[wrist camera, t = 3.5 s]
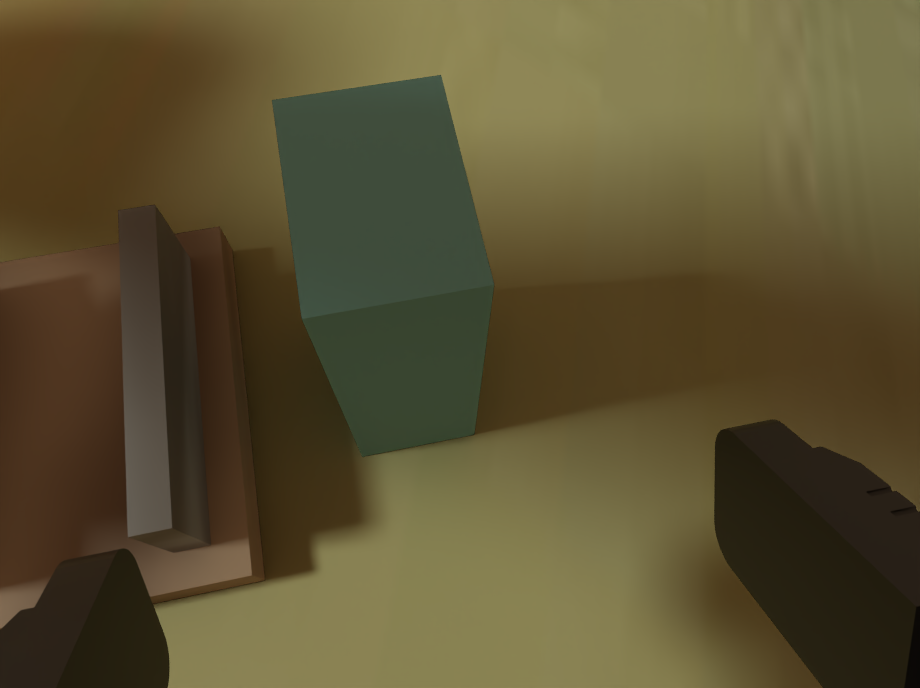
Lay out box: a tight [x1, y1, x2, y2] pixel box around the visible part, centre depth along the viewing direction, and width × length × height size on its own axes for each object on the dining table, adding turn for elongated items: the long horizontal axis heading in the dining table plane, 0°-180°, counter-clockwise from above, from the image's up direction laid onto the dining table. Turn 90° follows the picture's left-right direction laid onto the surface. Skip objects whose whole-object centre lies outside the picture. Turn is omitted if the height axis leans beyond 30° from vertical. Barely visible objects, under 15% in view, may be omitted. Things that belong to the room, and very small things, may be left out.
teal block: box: [272, 75, 494, 457], centre depth 18 cm, size 4×5×10 cm
